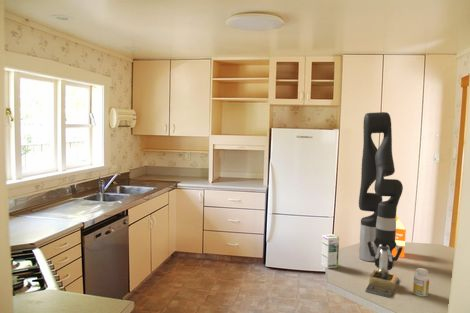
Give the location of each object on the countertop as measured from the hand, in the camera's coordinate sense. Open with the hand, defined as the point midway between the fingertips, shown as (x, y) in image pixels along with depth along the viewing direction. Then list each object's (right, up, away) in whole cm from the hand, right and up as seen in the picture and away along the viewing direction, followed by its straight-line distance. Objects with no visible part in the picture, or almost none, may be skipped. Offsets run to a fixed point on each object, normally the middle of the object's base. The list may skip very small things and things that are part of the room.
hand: (383, 268), depth 148 cm
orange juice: (+23, -5, +41) cm, 47 cm away
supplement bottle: (+12, -8, -6) cm, 16 cm away
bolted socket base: (0, -7, +1) cm, 7 cm away
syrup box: (-17, -6, +21) cm, 27 cm away
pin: (0, -5, 0) cm, 5 cm away
